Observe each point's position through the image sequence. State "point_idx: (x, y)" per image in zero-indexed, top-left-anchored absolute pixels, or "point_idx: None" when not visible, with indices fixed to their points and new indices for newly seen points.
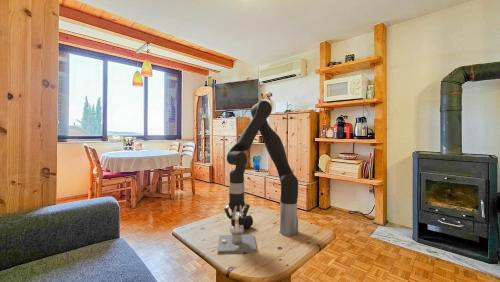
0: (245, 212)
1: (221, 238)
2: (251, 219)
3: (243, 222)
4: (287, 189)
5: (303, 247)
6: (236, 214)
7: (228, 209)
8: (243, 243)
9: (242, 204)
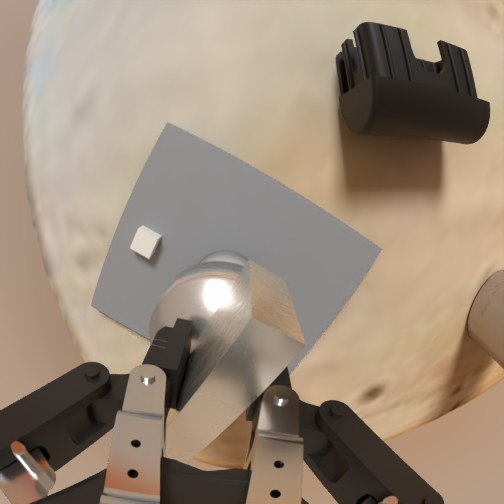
0: (325, 476)
1: (156, 178)
2: (472, 137)
3: (406, 130)
4: None
5: (421, 410)
6: (259, 347)
7: (45, 480)
8: None
9: None
